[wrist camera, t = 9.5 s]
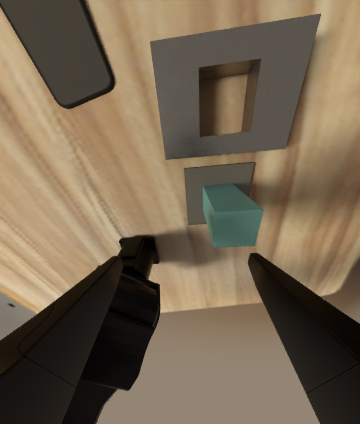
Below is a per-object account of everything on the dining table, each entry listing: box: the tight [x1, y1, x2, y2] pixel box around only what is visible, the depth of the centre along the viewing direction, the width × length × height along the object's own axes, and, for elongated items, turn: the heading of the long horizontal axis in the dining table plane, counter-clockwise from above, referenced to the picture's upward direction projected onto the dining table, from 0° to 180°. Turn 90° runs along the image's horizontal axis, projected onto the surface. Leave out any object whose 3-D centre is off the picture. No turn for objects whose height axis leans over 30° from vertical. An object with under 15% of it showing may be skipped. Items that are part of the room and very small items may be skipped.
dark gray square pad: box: [184, 162, 254, 225], centre depth 19 cm, size 9×9×1 cm
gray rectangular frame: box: [150, 14, 321, 160], centre depth 13 cm, size 9×13×2 cm
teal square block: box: [203, 184, 263, 248], centre depth 15 cm, size 4×4×8 cm
